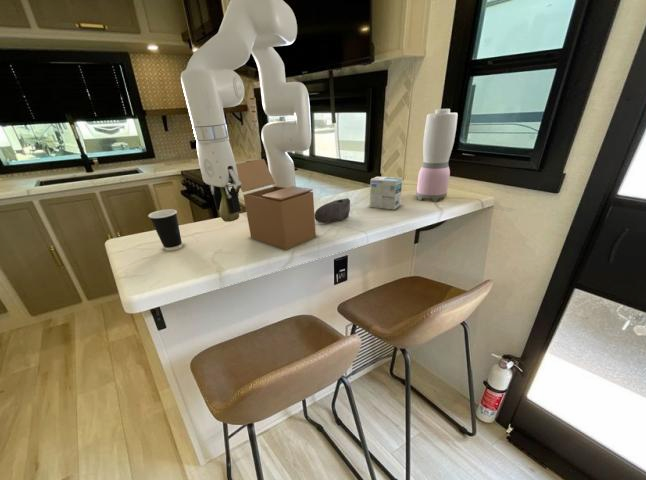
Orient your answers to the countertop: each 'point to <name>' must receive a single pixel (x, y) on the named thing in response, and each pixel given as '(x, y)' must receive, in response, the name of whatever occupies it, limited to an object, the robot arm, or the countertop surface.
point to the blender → (436, 154)
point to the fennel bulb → (226, 208)
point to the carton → (281, 215)
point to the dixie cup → (167, 228)
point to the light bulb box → (385, 192)
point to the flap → (254, 175)
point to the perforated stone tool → (333, 211)
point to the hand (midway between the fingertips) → (228, 209)
